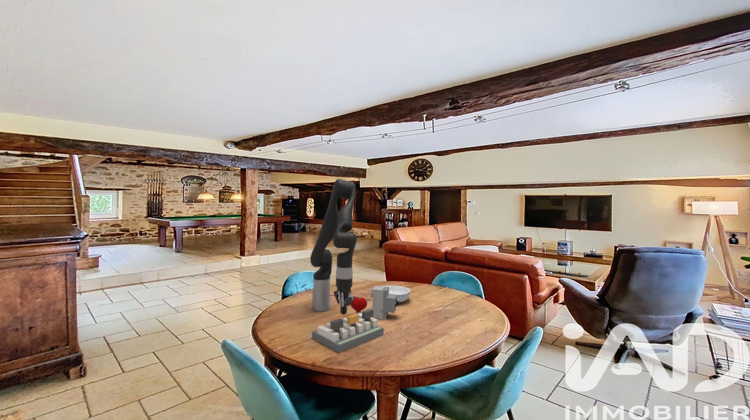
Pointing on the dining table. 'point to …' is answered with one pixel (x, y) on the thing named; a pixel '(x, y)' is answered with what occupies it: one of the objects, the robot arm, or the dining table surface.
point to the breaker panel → (350, 343)
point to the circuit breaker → (383, 302)
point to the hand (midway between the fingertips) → (343, 313)
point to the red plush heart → (359, 304)
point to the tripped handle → (353, 320)
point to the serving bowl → (400, 292)
